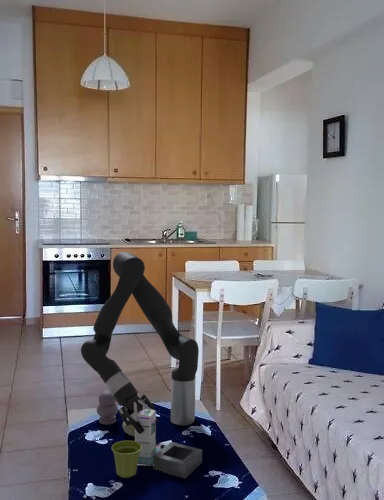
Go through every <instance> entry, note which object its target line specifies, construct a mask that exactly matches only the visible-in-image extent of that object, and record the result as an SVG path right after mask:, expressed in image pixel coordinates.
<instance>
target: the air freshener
mask: <svg viewBox="0 0 384 500" xmlns="http://www.w3.org/2000/svg"><path fill="white" fill-rule="evenodd" d="M127 420H128V421H129V419H128V418H127ZM122 429H123V431H124V433H126V434H128V436H132V437H134V438H135V428H134V427H133V425H129V426H127V425H126V424H125V422H124V421H123V422H122Z"/></svg>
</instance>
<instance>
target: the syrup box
mask: <svg viewBox="0 0 384 500" xmlns="http://www.w3.org/2000/svg"><path fill="white" fill-rule="evenodd" d="M156 415H157V411H156V410H155V409H153V410H152V409H143V410H141V411H139V412H138V413H137V422H138V421H139V423H140V424H141V425H142V427H143V428H144V432H143V433H141V434H139V433H138V432H137V431H136V429H135V437H134V441H135V442H138V443H140V444H141V445H142V449H141V450H140V453H139V457H146V458H151V457H152V455H153V454H154V452H155V451H156V448H157V423H156V418H157V416H156Z"/></svg>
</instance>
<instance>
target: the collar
mask: <svg viewBox="0 0 384 500" xmlns="http://www.w3.org/2000/svg"><path fill="white" fill-rule="evenodd" d="M161 449H162V450H160V451H159V452H158V453H157V454H155V455H154V456H153V465H152V468H153V469H152V470H154V469H155V470H154V471H157V470H159V471H158V472H160V471H162V472H161V473H164V474H168V475H170V476H175V477H177V478H182V479H185V480H186V478H187V477H189V476H190V475H191V474H192V473H193V472H195V470H196V469H197V468H198V467H200V466H201V465H202V464H203V449H200V448H197V447H193V446H190V445H185V444H182V443H179V442H178V443H177V442H173V441H171V442H169V443H168V444H166V445H165V446H164V447H163V448H161Z"/></svg>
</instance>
